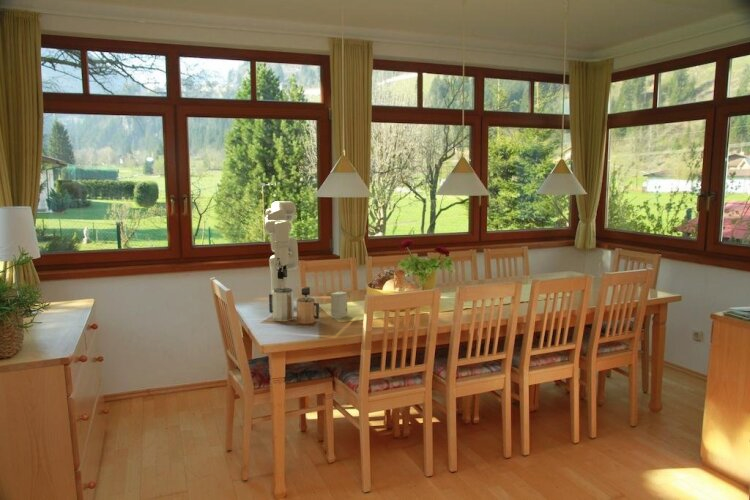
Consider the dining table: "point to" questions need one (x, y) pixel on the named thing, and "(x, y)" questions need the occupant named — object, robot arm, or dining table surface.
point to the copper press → (307, 310)
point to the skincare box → (338, 305)
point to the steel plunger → (282, 279)
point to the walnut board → (291, 322)
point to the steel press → (282, 304)
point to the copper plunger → (305, 291)
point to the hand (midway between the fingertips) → (282, 277)
